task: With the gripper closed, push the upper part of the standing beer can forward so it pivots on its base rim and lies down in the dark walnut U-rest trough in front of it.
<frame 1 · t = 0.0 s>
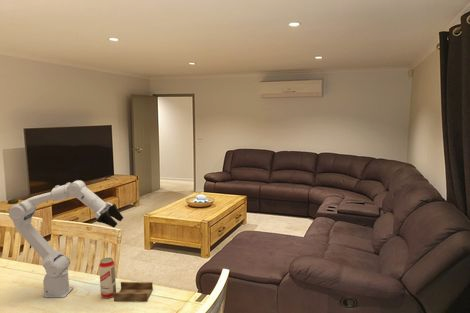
hand: (119, 222, 151), 32 cm above the table, tool tilted 50°, fingers open, 7 cm apart
u rest: (133, 295, 154), on the table
beer can: (108, 295, 155), on the table
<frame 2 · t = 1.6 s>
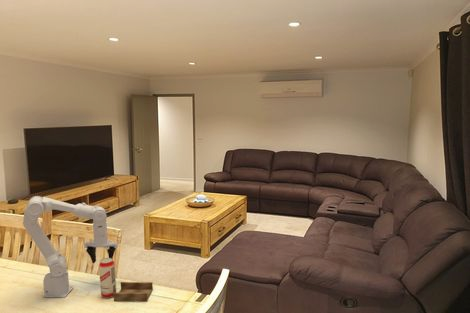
hand: (102, 262, 162), 11 cm above the table, tool pointing down, fingers open, 7 cm apart
nothing on the table moved.
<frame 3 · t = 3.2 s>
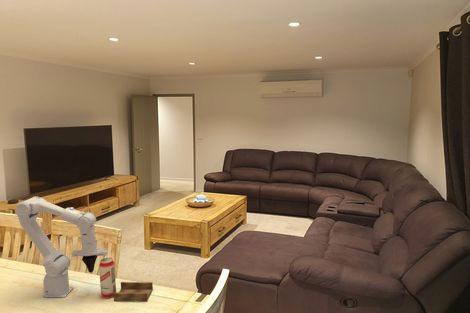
hand: (91, 271, 154), 10 cm above the table, tool pointing down, fingers closed
nothing on the table moved.
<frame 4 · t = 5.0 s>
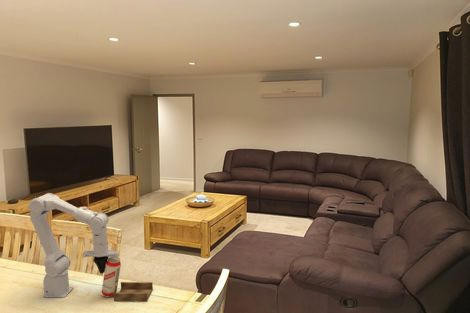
hand: (102, 272, 153), 10 cm above the table, tool pointing down, fingers closed
beer can: (108, 294, 154), on the table, touching gripper
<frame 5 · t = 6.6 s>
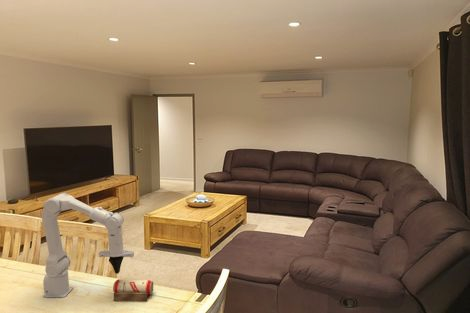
hand: (117, 272, 153), 10 cm above the table, tool pointing down, fingers closed
beer can: (114, 286, 154), point 4 cm above the table, touching u rest
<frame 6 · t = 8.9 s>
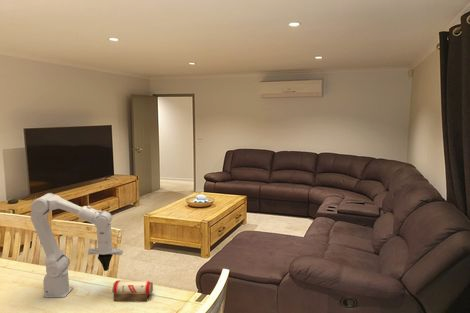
hand: (106, 269, 155), 10 cm above the table, tool pointing down, fingers closed
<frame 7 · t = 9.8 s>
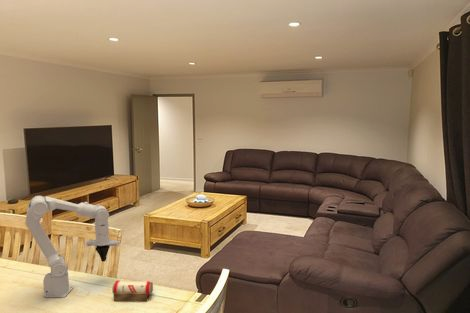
hand: (103, 260, 164), 10 cm above the table, tool pointing down, fingers closed
nothing on the table moved.
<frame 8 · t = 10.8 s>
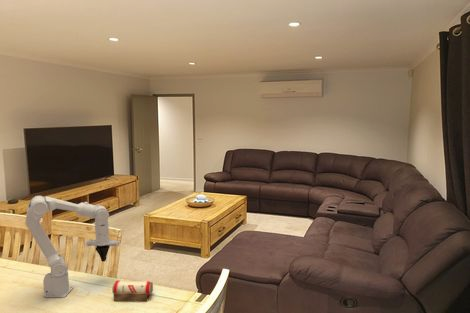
hand: (103, 260, 164), 10 cm above the table, tool pointing down, fingers closed
nothing on the table moved.
at the end: beer can tilted 90°; beer can inside the target area on the u rest (1.4 cm from its centre), point 3.6 cm above the u rest's base; beer can touching u rest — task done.
